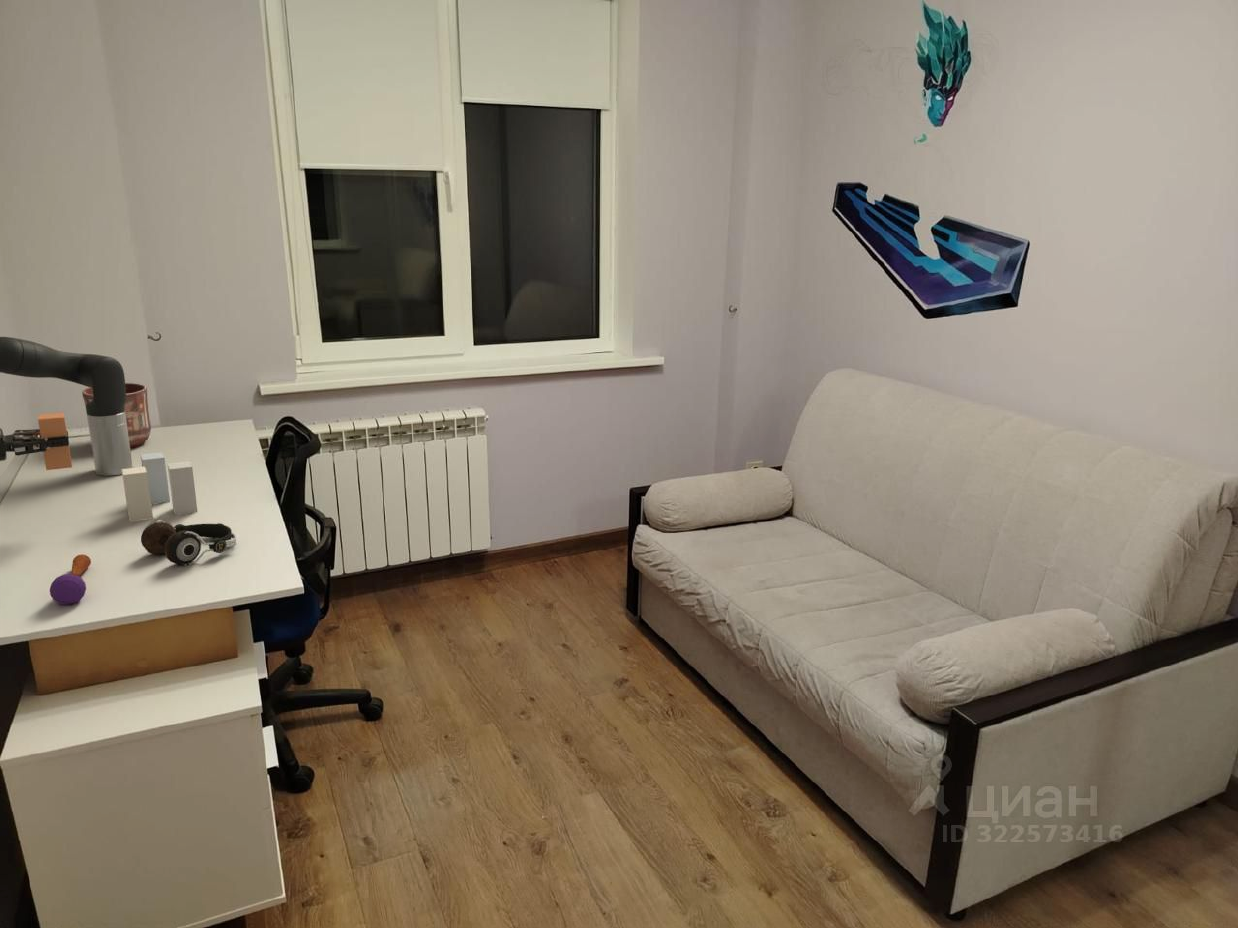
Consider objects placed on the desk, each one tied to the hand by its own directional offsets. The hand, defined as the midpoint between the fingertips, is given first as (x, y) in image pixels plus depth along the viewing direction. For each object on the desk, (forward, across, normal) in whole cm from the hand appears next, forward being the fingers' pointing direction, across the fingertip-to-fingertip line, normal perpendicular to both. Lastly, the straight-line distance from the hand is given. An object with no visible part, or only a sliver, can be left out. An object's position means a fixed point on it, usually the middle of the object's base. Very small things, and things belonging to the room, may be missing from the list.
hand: (67, 437), depth 198 cm
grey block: (+22, 0, +22) cm, 31 cm away
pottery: (+13, +70, +22) cm, 75 cm away
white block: (+17, +11, +22) cm, 30 cm away
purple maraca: (-2, -37, +22) cm, 43 cm away
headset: (+21, -28, +22) cm, 41 cm away
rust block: (-3, 0, +6) cm, 7 cm away
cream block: (+12, 0, +22) cm, 25 cm away
